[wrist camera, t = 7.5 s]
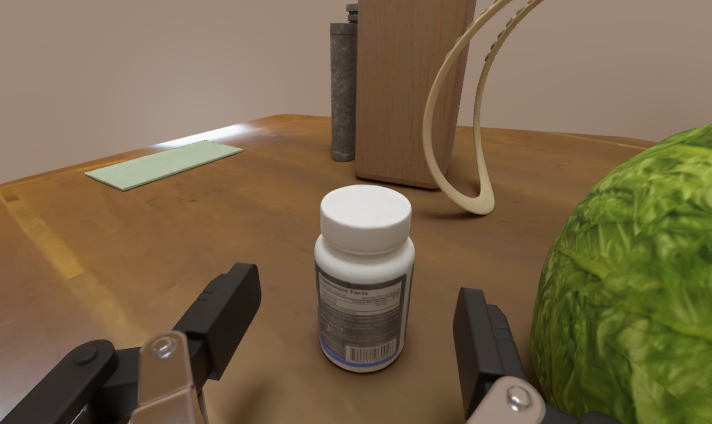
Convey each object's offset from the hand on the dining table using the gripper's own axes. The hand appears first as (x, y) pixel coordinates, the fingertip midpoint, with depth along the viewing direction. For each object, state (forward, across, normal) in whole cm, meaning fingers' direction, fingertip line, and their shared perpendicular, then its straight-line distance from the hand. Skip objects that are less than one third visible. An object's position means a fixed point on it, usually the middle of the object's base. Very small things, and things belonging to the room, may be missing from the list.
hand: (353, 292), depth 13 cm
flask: (+38, +5, +6) cm, 39 cm away
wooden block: (+29, -2, +6) cm, 30 cm away
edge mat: (+27, +27, +6) cm, 39 cm away
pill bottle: (+3, 0, +6) cm, 7 cm away
